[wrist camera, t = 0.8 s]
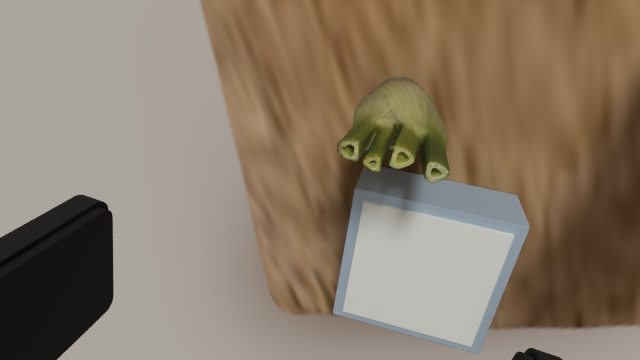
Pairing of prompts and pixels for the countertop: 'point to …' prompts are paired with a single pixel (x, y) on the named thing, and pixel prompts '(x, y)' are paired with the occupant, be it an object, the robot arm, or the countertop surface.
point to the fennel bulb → (398, 130)
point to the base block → (428, 256)
